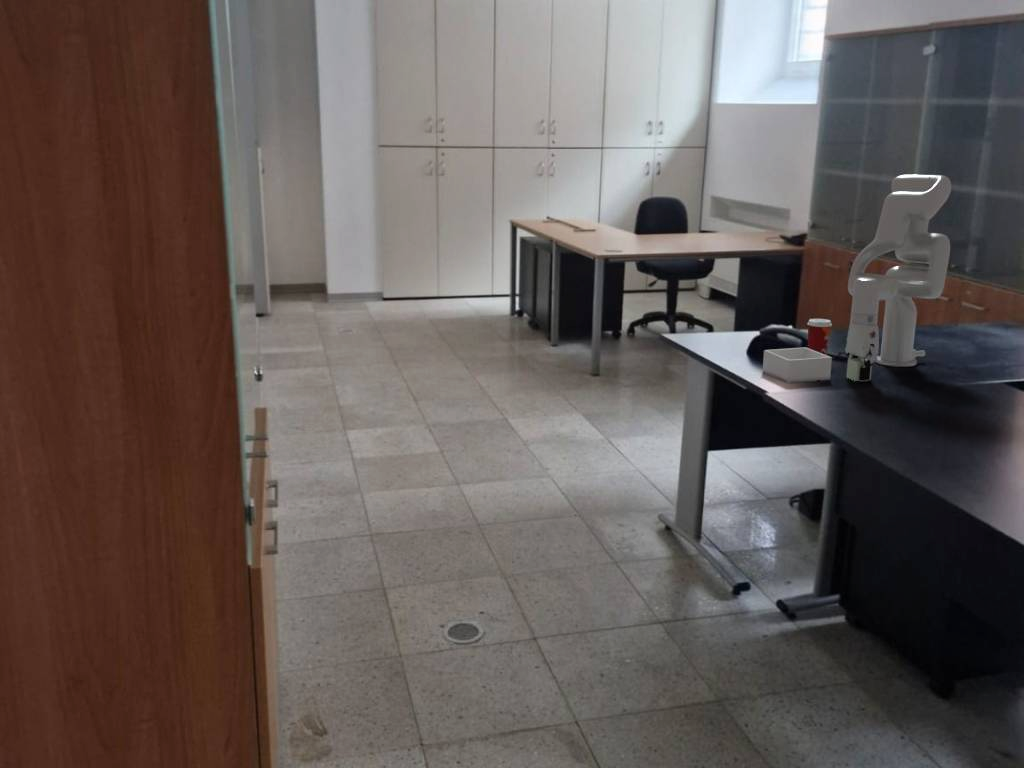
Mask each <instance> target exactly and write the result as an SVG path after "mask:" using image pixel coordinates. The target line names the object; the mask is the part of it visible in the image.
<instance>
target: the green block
mask: <svg viewBox="0 0 1024 768" xmlns="http://www.w3.org/2000/svg"><path fill="white" fill-rule="evenodd" d="M867 360H868V359H865V362H866V361H867ZM860 367H862V362H861V357H859V358H853V359H848V358H847V368H846V377H847V378H846V377H845V378H846V379H848V378H849V380H850V379H851V381H853V380H854V381H853V382H855V381H860V382H868V381H869V380H872V368H873V366H872V367H871V368H870V379H869V380H859V376H860ZM869 382H870V381H869Z"/></svg>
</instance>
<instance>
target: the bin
mask: <svg viewBox="0 0 1024 768" xmlns="http://www.w3.org/2000/svg"><path fill="white" fill-rule="evenodd" d="M762 362H763V364H762V372H763V373H764V374H767V375H769V376H771V377H773V378H775V379H778V380H780V381H782V382H784V383H785V384H791V383H793V384H794V383H795V384H796V383H805V382H806V381H807V382H817V380H820V381H830V380H831V372H832V362H833V358H832V357H831V356H830V355H828V354H827V355H824V354H822V353H819V352H816V351H814V350H811V349H809V348H808V347H806V346H805V347H791V348H789V347H788V348H778V349H777V348H776V349H774V348H773V349H765V350H763V361H762Z"/></svg>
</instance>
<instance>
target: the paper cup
mask: <svg viewBox="0 0 1024 768" xmlns="http://www.w3.org/2000/svg"><path fill="white" fill-rule="evenodd" d="M806 325H807V348H809V349H811V350H814V351H816V352H819V353H822V354H824V355H827V356H828V348H829V342H830V334H831V328H832V326H833V324H832V321H831V320H830V319H825V318H809V320H808V322H807V323H806Z"/></svg>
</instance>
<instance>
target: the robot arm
mask: <svg viewBox="0 0 1024 768" xmlns="http://www.w3.org/2000/svg"><path fill="white" fill-rule="evenodd" d="M890 188H891V192H890V193H889V194H888V195H887V196H886V197H885V199H884V202H883V204H882V205H883V206H882V208H881V209H882V210H881V213H880V217H879V220H878V224H877V225H878V226H877V229H876V232H875V236H874V239H873V240H872V241H871V242H870V243H869V244H867V245H866V246H865V247H864V248H863V249H862V250H861V251H860V252H859V253H858V255H857V256H855V259H854V261H853V263H852V265H851V269H850V274H849V277H848V282H847V291H848V293H849V294H850V295H851V296H852V300H851V301H852V302H851V313H850V323H849V326H848V331H847V337H846V344H845V345H846V346H845V348H844V351H845V353H846V356H847V360H848V359H853V358H861V362H862V367H860V376H859V380H869V379H870V368H871V367H872V368H873V365H874V364H875V363H877V364H880V365H884V366H886V367H887V366H889V367H897V368H899V367H900V368H901V367H903V368H905V367H906V368H908V367H913V366H916V365H917V362H918V361H917V360H916V358H917V357H925V356H926V351H925V350H924V349H922V350H917V349H914V342H915V333H916V323H917V316H918V315H917V314H918V310H917V306H916V304H915V302H914V300H913V299H912V298H918V299H926V300H927V299H928V300H933V299H937V298H939V297H940V296H941V295H942V293H943V291H944V288H945V282H946V277H947V271H948V265H949V260H950V254H951V242H950V238H949V237H948V236H947V235H946V234H943V233H937V232H928V229H929V224H930V223H929V222H930V220H931V219H932V218H934V216H935V215H936V214H937V213H938V212H939V210H940V209H941V207H943V205H944V204H945V203H946V202H947V200H948V199H949V197H950V194H951V190H952V182H951V180H950V178H949V177H948V176H946V175H941V174H901V175H898V176H896V177H894V178H893V180H892V182H891V187H890ZM892 251H894V254H895V258H896V259H897V260H899V261H902V262H905V263H906V262H907V263H916V264H917V263H918V264H927V265H928V267H922V266H921V267H920V266H913V265H912V266H910V265H897V266H893V267H890V268H889V269H888V270H887V271H886V272H885V274H878V273H877V274H875V273H866V272H865V270H866V268H867V267H868V265H869V263H871V262H872V261H873V260H874V259H876V258H877V257H880V256H881V255H884V254H886V253H890V252H892ZM880 301H885V304H884V305H885V306H884V307H885V308H884V318H883V327H882V337H881V348H880V349H879V347H880V340H879V339H880V334H879V325H878V317H879V308H880V307H879V306H880V305H879V304H880ZM879 350H880V355H879ZM865 359H867V361H866V362H865Z"/></svg>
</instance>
